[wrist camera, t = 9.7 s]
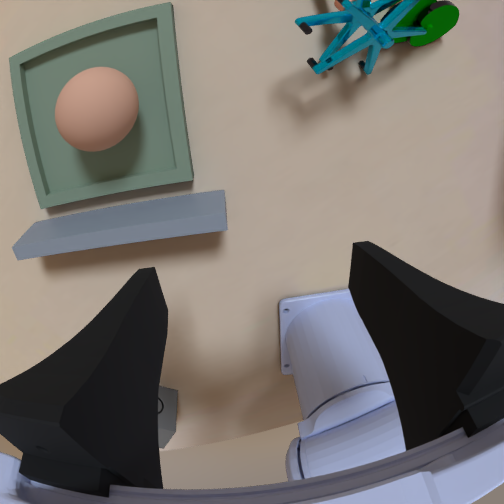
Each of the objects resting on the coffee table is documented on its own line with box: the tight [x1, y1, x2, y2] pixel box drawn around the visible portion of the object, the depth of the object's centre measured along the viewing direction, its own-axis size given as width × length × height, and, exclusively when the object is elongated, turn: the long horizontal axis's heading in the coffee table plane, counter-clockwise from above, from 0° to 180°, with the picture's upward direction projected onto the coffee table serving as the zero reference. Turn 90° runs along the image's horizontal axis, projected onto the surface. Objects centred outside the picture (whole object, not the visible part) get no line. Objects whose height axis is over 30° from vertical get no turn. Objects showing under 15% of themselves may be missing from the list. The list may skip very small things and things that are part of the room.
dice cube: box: [158, 386, 178, 449], centre depth 28 cm, size 5×5×5 cm
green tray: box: [9, 2, 194, 209], centre depth 15 cm, size 11×11×1 cm
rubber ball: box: [55, 67, 139, 152], centre depth 13 cm, size 4×4×4 cm
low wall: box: [12, 190, 228, 260], centre depth 18 cm, size 1×14×4 cm, turn 95°
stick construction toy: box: [295, 0, 459, 75], centre depth 12 cm, size 12×7×8 cm
